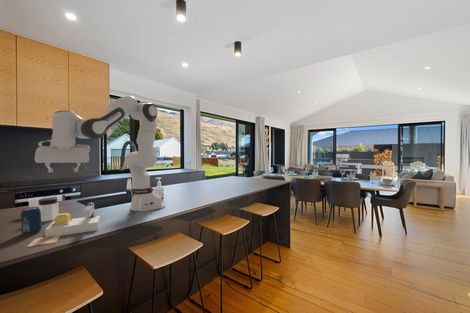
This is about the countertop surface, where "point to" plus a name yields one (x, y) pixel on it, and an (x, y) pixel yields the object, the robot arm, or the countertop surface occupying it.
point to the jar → (48, 208)
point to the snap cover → (62, 218)
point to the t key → (89, 210)
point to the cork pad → (44, 241)
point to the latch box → (73, 226)
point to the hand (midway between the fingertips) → (63, 172)
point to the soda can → (30, 220)
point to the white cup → (34, 201)
